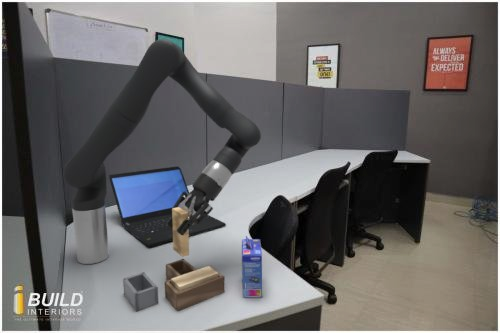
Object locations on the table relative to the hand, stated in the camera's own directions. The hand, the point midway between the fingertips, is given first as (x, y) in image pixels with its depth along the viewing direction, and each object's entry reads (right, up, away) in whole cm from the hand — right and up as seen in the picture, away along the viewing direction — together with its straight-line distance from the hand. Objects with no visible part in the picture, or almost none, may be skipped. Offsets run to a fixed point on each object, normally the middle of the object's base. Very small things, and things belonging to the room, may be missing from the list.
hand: (174, 229), depth 90 cm
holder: (-8, -17, -3) cm, 19 cm away
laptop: (-14, -7, +49) cm, 52 cm away
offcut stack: (+6, -17, -1) cm, 18 cm away
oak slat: (+1, -7, +3) cm, 7 cm away
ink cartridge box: (+21, -17, +2) cm, 27 cm away
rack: (+3, -16, +2) cm, 17 cm away
